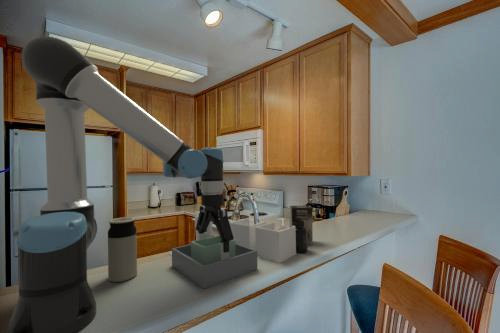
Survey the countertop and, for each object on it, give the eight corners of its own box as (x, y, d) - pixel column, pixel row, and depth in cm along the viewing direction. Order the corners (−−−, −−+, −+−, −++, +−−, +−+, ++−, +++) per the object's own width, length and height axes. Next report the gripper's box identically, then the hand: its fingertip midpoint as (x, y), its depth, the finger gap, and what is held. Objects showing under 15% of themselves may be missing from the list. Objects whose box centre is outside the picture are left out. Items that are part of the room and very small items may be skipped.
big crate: (203, 288, 68) (203, 267, 68) (172, 265, 85) (171, 248, 85) (257, 269, 81) (257, 250, 81) (220, 252, 98) (220, 237, 98)
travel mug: (141, 276, 77) (140, 219, 77) (113, 285, 71) (112, 223, 71) (131, 269, 82) (130, 215, 83) (105, 277, 77) (104, 219, 77)
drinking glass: (209, 256, 94) (208, 216, 94) (192, 255, 95) (192, 216, 95) (215, 250, 100) (214, 213, 101) (199, 249, 102) (199, 213, 102)
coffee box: (291, 245, 105) (290, 207, 105) (289, 240, 111) (289, 205, 112) (313, 245, 105) (312, 207, 105) (310, 240, 111) (309, 205, 111)
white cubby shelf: (230, 248, 103) (229, 222, 103) (247, 242, 111) (247, 218, 111) (279, 263, 86) (279, 231, 86) (296, 254, 94) (295, 226, 94)
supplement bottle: (303, 247, 102) (303, 218, 102) (310, 253, 95) (309, 222, 95) (287, 248, 101) (287, 219, 101) (293, 254, 94) (293, 223, 94)
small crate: (204, 273, 76) (204, 247, 76) (191, 265, 82) (190, 241, 82) (235, 263, 83) (235, 240, 83) (221, 256, 90) (220, 234, 90)
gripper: (244, 195, 76) (245, 263, 76) (203, 190, 95) (204, 245, 95) (223, 197, 71) (225, 270, 71) (185, 192, 90) (186, 249, 90)
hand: (213, 256), depth 83 cm, fingers open, 13 cm apart
